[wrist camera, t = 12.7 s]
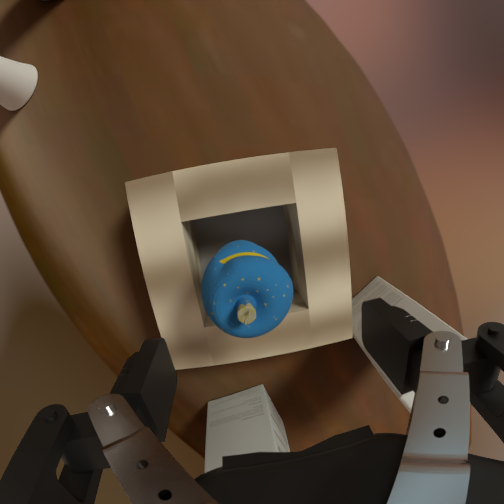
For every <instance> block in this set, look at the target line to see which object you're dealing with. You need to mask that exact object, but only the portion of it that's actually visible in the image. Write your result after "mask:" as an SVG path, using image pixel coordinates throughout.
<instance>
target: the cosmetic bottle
mask: <svg viewBox="0 0 504 504" xmlns="http://www.w3.org/2000/svg"><path fill="white" fill-rule="evenodd" d="M37 80H38V73H37V70H36V68H35V67H34V66H33V65H29V64H24V63H20V62H16V61H13V60H10V59H7V58H4V57H1V56H0V105H1V106H3V107H4V108H6V109H7V110H10V111H15V110H17V109H19V108H21V107H22V106H23V105H25V104H26V102H27V101H28V100H29V99H30V97H31V96H32V94H33V92H34V90H35V88H36V84H37Z"/></svg>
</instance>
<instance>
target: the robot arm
mask: <svg viewBox="0 0 504 504" xmlns="http://www.w3.org/2000/svg"><path fill="white" fill-rule="evenodd" d="M40 1H49V0H40ZM361 312H362V342H363V345H364V347H365V349H366V350H367V352H368V353H369V354H370V355H371V357H372V358H373V359H374V360H375V362H376V363H377V364H378V365H379V367H380V368H381V369H382V370H383V372H384V373H385V374H386V375H387V377H388V378H389V379H390V381H391V382H392V383H393V384H394V386H395V387H396V388H397V389H398V391H399V392H400V393H401V395H403V394H406V393H408V392H411V391H414V393H415V395H414V399H413V404H412V409H411V414H410V418H409V422H408V427H407V431H406V435H403V434H396V433H376V434H373V432H372V431H371V429H370V427H369V425H367V426H364V427H361V428H358V429H355V430H352V431H348V432H345V433H342V434H338V435H335V436H333V437H331V438H329V439H327V440H324V441H322V442H320V443H318V444H316V445H314V446H312V447H309V448H307V449H305V450H303V451H299V452H254V453H247V454H239V455H231V456H222V467H219V468H216V469H213V470H211V471H208V472H206V473H204V474H202V475H200V476H199V477H197V478H196V479H193V478H192V477H191V476H190V475H189V474H188V473H187V472H186V471H185V469H184V468H183V467H182V466H181V465H180V464H179V463H178V462H177V461H176V460H175V458H174V457H173V456H172V455H171V454H170V453H169V451H168V450H167V449H166V448H165V447H164V446H163V444H162V443H161V442H164V441H165V438H166V433H167V428H168V423H169V418H170V413H171V408H172V404H173V399H174V394H175V390H176V385H177V376H176V371H175V368H174V365H173V362H172V359H171V356H170V353H169V350H168V347H167V344H166V341H165V339H164V338H156V339H147V340H145V341H144V343H143V345H142V347H141V349H140V351H139V352H135V353H134V354H133V355H132V356H131V357H129V358H128V359H127V361H126V363H125V364H124V366H123V369H122V370H121V372H120V375H119V376H118V378H117V380H116V382H115V384H114V386H113V388H112V390H111V392H110V394H106V395H103V396H100V397H98V398H97V399H95V400H94V401H93V402H92V403H91V404H90V405H89V407H88V412H85V413H80V414H75V415H70V414H69V412H68V411H67V409H66V408H65V407H64V406H63V405H60V404H54V405H50V406H47V407H45V408H43V409H42V410H40V411H39V412H38V414H37V415H36V416H35V418H34V420H33V421H32V423H31V425H30V426H29V428H28V430H27V432H26V433H25V435H24V437H23V439H22V440H21V442H20V444H19V446H18V447H17V449H16V451H15V453H14V455H13V457H12V459H11V460H10V462H9V464H8V466H7V468H6V470H5V472H4V474H3V476H2V478H1V480H0V504H94V502H95V498H96V494H97V490H98V486H99V482H100V478H101V474H102V470H103V469H104V468H112V470H113V472H114V474H115V476H116V477H117V479H118V481H119V483H120V484H121V486H122V488H123V489H124V491H125V493H126V494H127V496H128V497H129V499H130V501H131V502H132V504H504V461H499V460H494V459H490V458H485V457H481V456H477V455H472V454H469V453H468V445H469V426H470V403H471V404H472V405H473V407H475V409H476V410H477V411H478V412H479V414H480V415H481V416H482V417H483V418H484V420H485V421H486V422H487V423H488V424H489V425H490V427H491V428H492V429H493V430H494V432H495V433H496V434H497V435H498V436H499V438H500V439H501V440H502V441H503V443H504V385H502V384H501V383H500V382H499V381H498V380H497V379H498V376H499V373H500V370H503V371H504V325H503V324H501V323H497V322H487V323H484V324H482V325H481V326H479V328H478V332H477V337H476V338H472V339H466V340H461V339H460V337H459V336H458V335H456V334H454V333H452V332H449V331H435V332H433V331H431V330H430V329H429V328H427V327H426V326H425V325H424V324H422V323H421V322H420V321H418V320H416V318H415V317H413V316H411V314H409V313H408V312H407V311H405V310H404V309H402V308H399V307H396V306H391V305H389V304H388V303H387V302H386V301H384V300H383V299H382V298H375V299H372V300H368V301H364V302H363V303H362V307H361ZM60 458H61V459H62V460H63V461H64V462H65V465H64V467H63V470H62V472H61V475H60V477H59V480H58V479H57V476H56V468H57V466H58V463H59V461H60Z"/></svg>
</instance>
